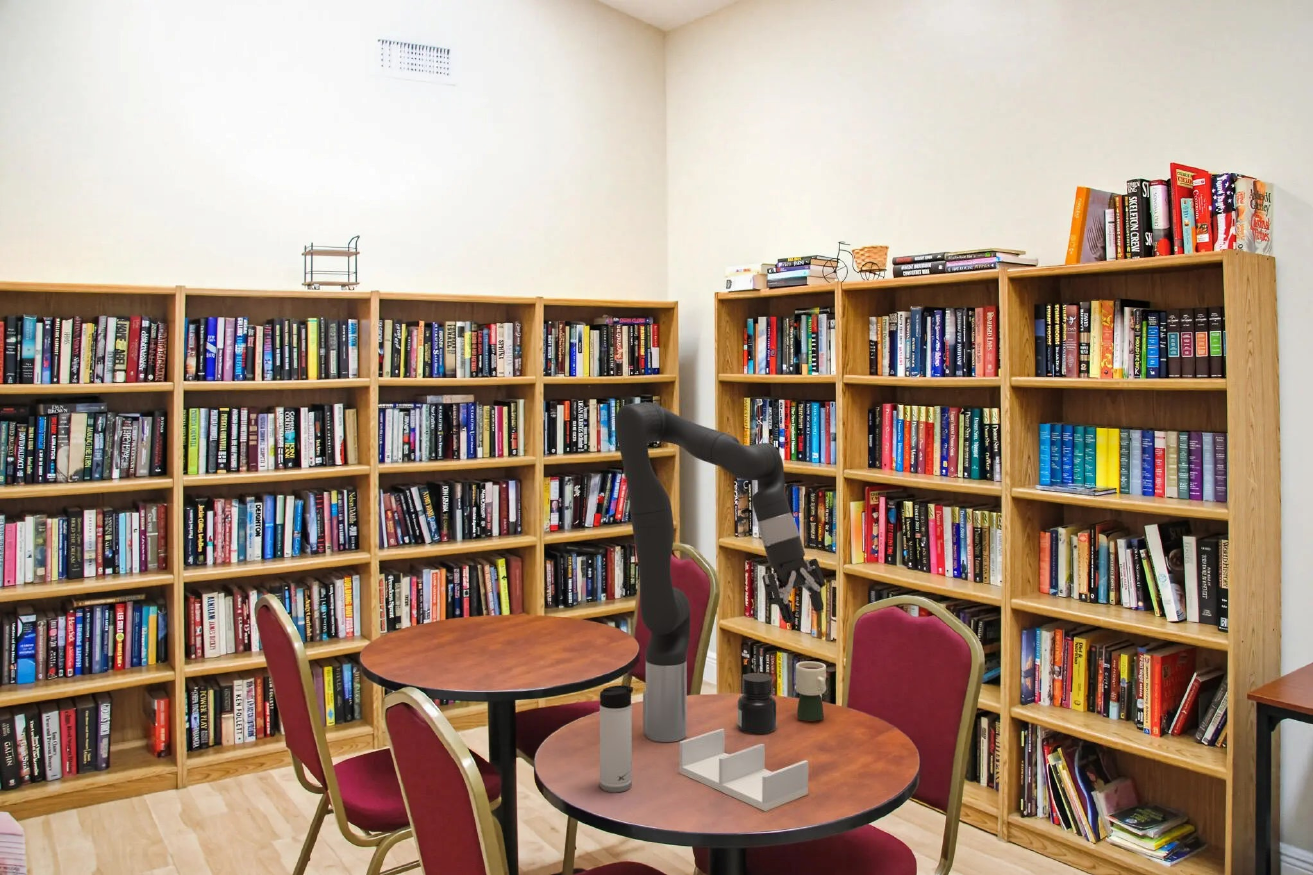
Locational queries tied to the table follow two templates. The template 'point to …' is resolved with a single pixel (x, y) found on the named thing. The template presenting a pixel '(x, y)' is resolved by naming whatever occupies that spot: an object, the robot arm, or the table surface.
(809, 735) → the table surface
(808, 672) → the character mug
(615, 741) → the travel mug
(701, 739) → the rack
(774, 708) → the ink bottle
